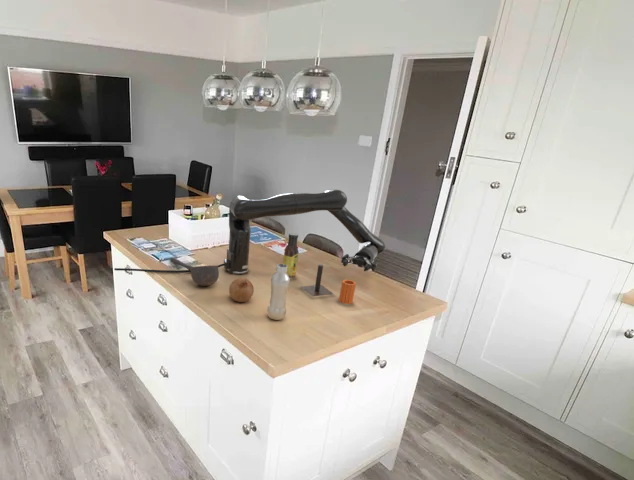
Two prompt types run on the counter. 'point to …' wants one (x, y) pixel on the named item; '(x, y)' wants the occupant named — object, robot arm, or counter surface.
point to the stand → (317, 285)
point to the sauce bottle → (291, 255)
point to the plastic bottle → (278, 293)
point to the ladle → (201, 273)
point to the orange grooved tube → (347, 291)
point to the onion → (241, 290)
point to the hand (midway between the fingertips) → (354, 266)
